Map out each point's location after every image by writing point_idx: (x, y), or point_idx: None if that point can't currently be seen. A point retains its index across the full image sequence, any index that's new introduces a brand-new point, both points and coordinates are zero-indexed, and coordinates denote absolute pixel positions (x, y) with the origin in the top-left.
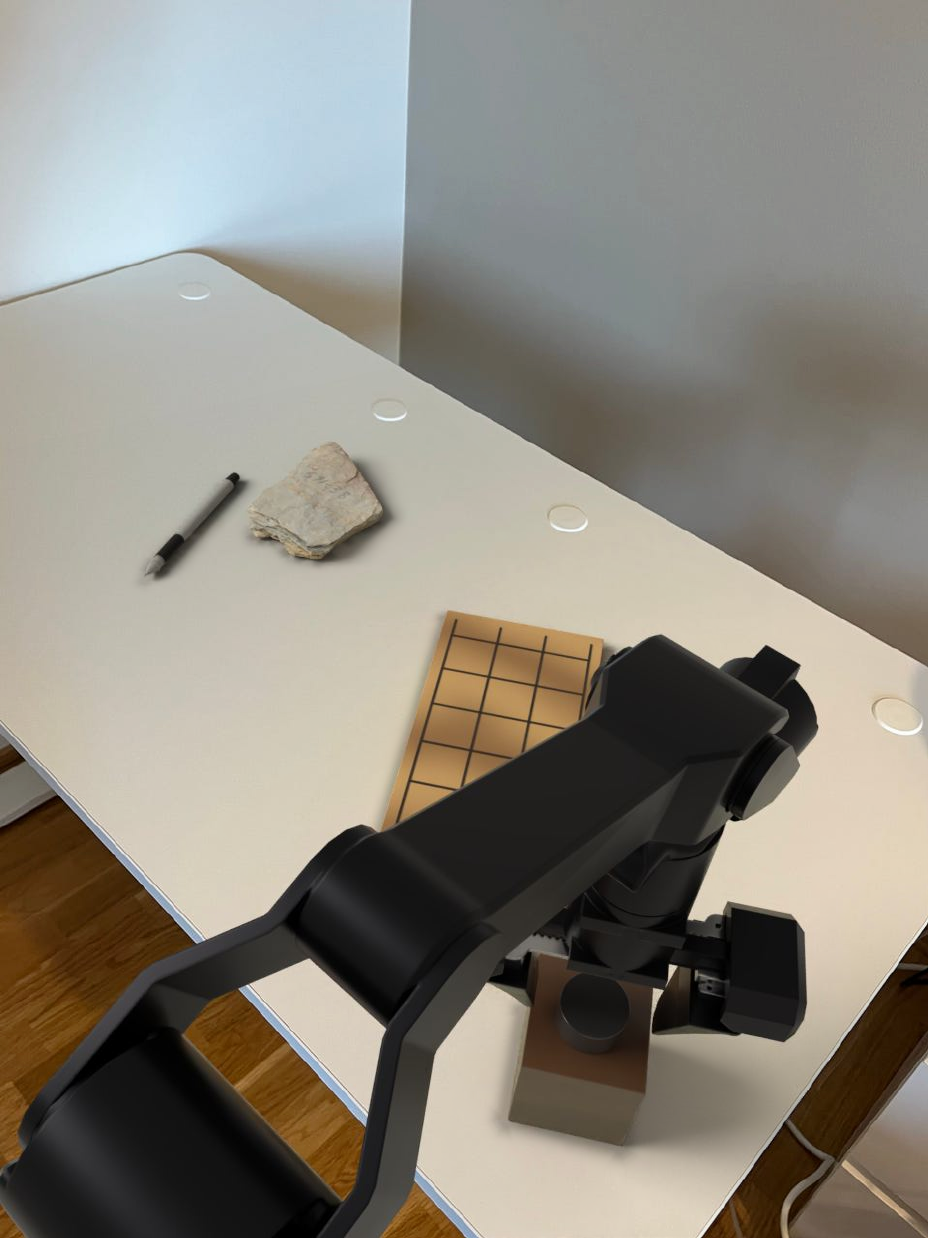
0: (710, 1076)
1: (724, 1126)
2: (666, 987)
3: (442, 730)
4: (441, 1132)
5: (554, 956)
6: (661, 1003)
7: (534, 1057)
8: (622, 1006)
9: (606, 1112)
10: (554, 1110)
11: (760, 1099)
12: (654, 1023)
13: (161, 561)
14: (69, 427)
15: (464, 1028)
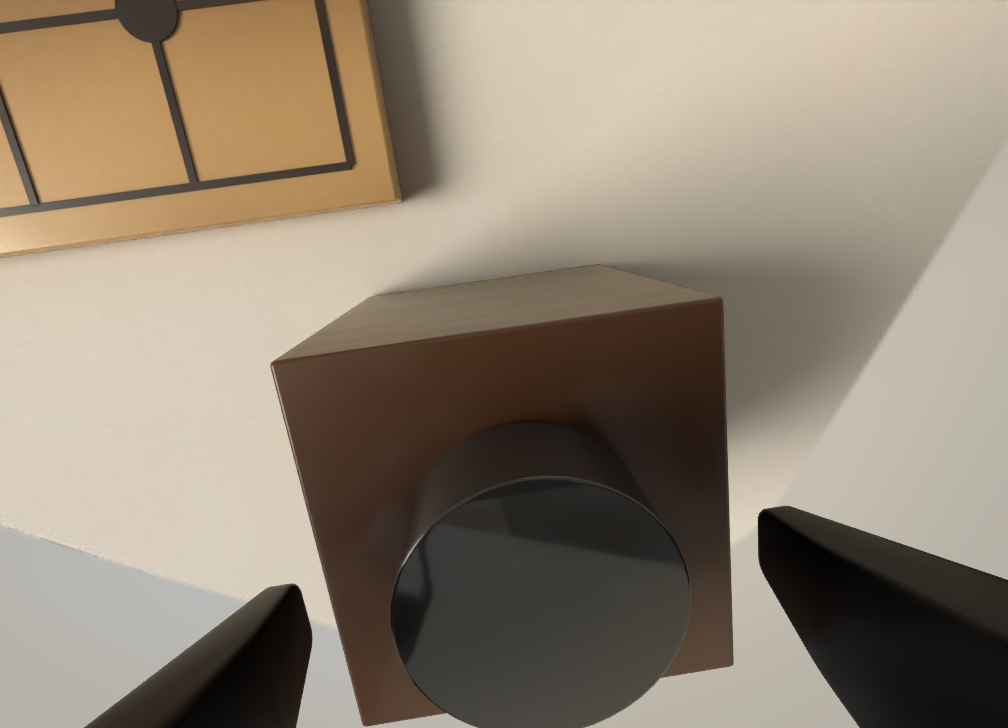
0: (768, 288)
1: (797, 373)
2: (945, 629)
3: None
4: (306, 563)
5: (380, 151)
6: (873, 626)
7: (392, 692)
8: (657, 586)
9: None
10: None
11: (866, 297)
12: (792, 594)
13: None
14: None
15: (260, 375)
